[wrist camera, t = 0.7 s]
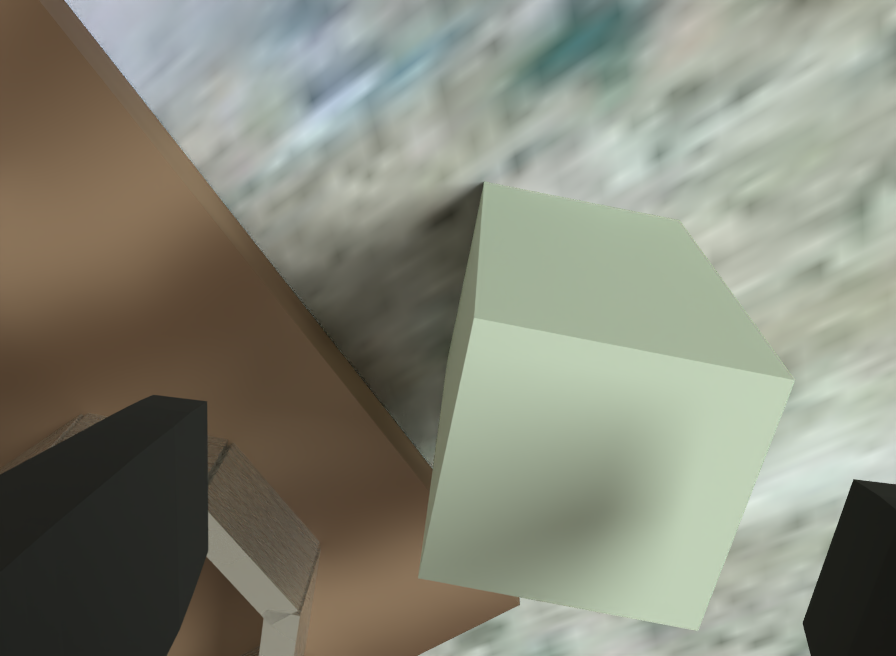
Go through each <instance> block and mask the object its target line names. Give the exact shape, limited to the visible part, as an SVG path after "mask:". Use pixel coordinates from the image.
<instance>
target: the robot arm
mask: <svg viewBox="0 0 896 656" xmlns="http://www.w3.org/2000/svg"><path fill="white" fill-rule="evenodd" d="M207 553H208V425H207V401H201V400H193V399H185V398H176V397H168V396H160V395H151V396H149V397H147V398H145V399H142V400H140V401H138V402H136V403H134V404H132V405H130V406H128V407H126V408H124V409H122V410H120V411H118V412H116V413H114V414H112V415H110V416H109V417H107V418H105V419H103V420H101V421H99V422H97V423H96V424H94V425H92V426H90V427H88V428H86V429H84V430H83V431H81V432H79V433H77V434H75V435H73V436H72V437H70V438H68V439H66V440H64V441H62V442H60V443H58V444H57V445H55V446H53V447H51V448H49V449H47V450H45V451H43V452H42V453H40V454H38V455H36V456H34V457H32V458H30V459H28V460H27V461H25V462H23V463H21V464H19V465H17V466H15V467H13V468H11V469H10V470H8V471H6V472H4V473H2V474H0V656H167V654H168V652H169V650H170V648H171V646H172V644H173V642H174V640H175V638H176V636H177V634H178V632H179V630H180V628H181V625H182V622H183V620H184V617H185V615H186V612H187V609H188V607H189V604H190V601H191V599H192V596H193V593H194V590H195V588H196V585H197V582H198V579H199V576H200V573H201V570H202V568H203V565H204V562H205V559H206V556H207ZM803 626H804V630H805V634H806V638H807V642H808V646H809V650H810V654H811V656H896V484H888V483H879V482H871V481H863V480H855V479H853V482H852V485H851V488H850V491H849V494H848V496H847V499H846V502H845V505H844V508H843V511H842V513H841V516H840V519H839V522H838V525H837V527H836V530H835V533H834V536H833V539H832V542H831V544H830V547H829V550H828V553H827V556H826V559H825V561H824V564H823V567H822V570H821V573H820V575H819V578H818V581H817V584H816V587H815V590H814V592H813V595H812V598H811V601H810V604H809V607H808V609H807V612H806V615H805V618H804V621H803Z"/></svg>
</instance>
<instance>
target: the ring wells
mask: <svg viewBox="0 0 896 656" xmlns="http://www.w3.org/2000/svg"><path fill="white" fill-rule="evenodd" d="M105 418H107V416H102V415H96V414H91V413H87V414H86V415H85V416H83V415H82V414H80V415H79V416H78V417H76V418H75V419H73V420H72V421H70V422H69V423H67V424H66V425H64V426H63V427H61V428H60V429H58V430H57V431H55V432H54V433H52V434H51V435H49V436H48V437H46V438H45V439H43V440H42V441H40V442H39V443H37V444H36V445H34V446H33V447H31V448H30V449H28V450H27V451H25V452H24V453H22V454H21V455H19V456H18V457H16V458H15V459H13V460H12V461H10V462H9V463H7V464H6V465H4V466H3V467H1V468H0V474H2V473H4V472H6V471H8V470H10V469H11V468H13V467H15V466H17V465H19V464H21V463H23V462H25V461H27V460H28V459H30V458H32V457H34V456H36V455H38V454H40V453H42V452H43V451H45V450H47V449H49V448H51V447H53V446H55V445H57V444H58V443H60V442H62V441H64V440H66V439H68V438H70V437H72V436H73V435H75V434H77V433H79V432H81V431H83V430H84V429H86V428H88V427H90V426H92V425H94V424H96V423H97V422H99V421H101V420H103V419H105ZM227 444H228V439H222V438H217V437H212V436H208V553H207V558H208V559H209V560H210V561H211V562H212V563H213V564H214V565H215V566H216V567H217V568H218V569H219V570H220V572H221V573H222V574H223V575H224V576H225V577H226V578H227V579H228V580H229V581H230V582H231V583H232V584H233V585H234V587H235V588H236V589H237V590H238V591H239V592H240V593H241V594H242V595H243V596H244V597H245V598H246V599H247V601H248V602H249V603H250V604H251V605H252V606H253V607H254V608H255V609H256V610H257V611H258V612H259V613H260V615H261V616H262V617H263V618H264V620H263V627H262V635H261V643H260V645H259V646H258V647H256V648H254V649H252V650H250V651H248V652H246V653H244V654H242V655H241V656H303V655H304V651H305V647H306V641H307V634H308V628H309V622H310V615H311V609H312V602H313V596H314V590H315V583H316V577H317V571H318V564H319V558H320V551H321V547H319V541H318V540H317V538H316V537H315V536H314V535H313V534H312V533H311V531H310V530H309V529H308V528H307V527H306V526H305V525H304V523H303V522H302V521H301V520H300V519H299V518H298V516H297V515H296V514H295V513H294V512H293V511H292V510H291V508H290V507H289V506H288V505H287V504H286V503H285V502H284V500H283V499H282V498H281V497H280V496H279V495H278V493H277V492H276V491H275V490H274V489H273V488H272V487H271V485H270V484H269V483H268V482H267V481H266V480H265V478H264V477H263V476H262V475H261V474H260V473H259V472H258V470H257V469H256V468H255V467H254V466H253V465H252V463H251V462H250V461H249V460H248V459H247V458H246V457H245V455H244V454H243V453H242V452H241V451H240V450H239V449H238V447H237V446H236V445H235V444H234V443H232V444H230V445H229V446H227Z"/></svg>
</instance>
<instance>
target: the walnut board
mask: <svg viewBox="0 0 896 656" xmlns="http://www.w3.org/2000/svg"><path fill="white" fill-rule="evenodd" d="M151 395H160V396H168V397H176V398H185V399H193V400H201V401H207V425H208V436H212V437H217V438H222V439H228V444H227V446H229V445H230V444H232V443H234V444H235V445H236V446H237V447H238V449H239V450H240V451H241V452H242V453H243V454H244V455H245V457H246V458H247V459H248V460H249V461H250V462H251V463H252V465H253V466H254V467H255V468H256V469H257V470H258V472H259V473H260V474H261V475H262V476H263V477H264V478H265V480H266V481H267V482H268V483H269V484H270V485H271V487H272V488H273V489H274V490H275V491H276V492H277V493H278V495H279V496H280V497H281V498H282V499H283V500H284V502H285V503H286V504H287V505H288V506H289V507H290V508H291V510H292V511H293V512H294V513H295V514H296V515H297V516H298V518H299V519H300V520H301V521H302V522H303V523H304V525H305V526H306V527H307V528H308V529H309V530H310V531H311V533H312V534H313V535H314V536H315V537H316V538H317V540H318V541H319V547H321V551H320V558H319V564H318V571H317V577H316V583H315V590H314V596H313V602H312V609H311V615H310V622H309V628H308V634H307V641H306V647H305V651H304V655H303V656H417V655H419V654H421V653H423V652H425V651H427V650H429V649H432V648H434V647H436V646H438V645H440V644H442V643H444V642H446V641H448V640H450V639H452V638H454V637H456V636H458V635H460V634H462V633H464V632H466V631H468V630H470V629H472V628H474V627H476V626H478V625H480V624H482V623H484V622H486V621H488V620H490V619H492V618H494V617H496V616H498V615H500V614H502V613H504V612H506V611H508V610H510V609H512V608H514V607H516V606H518V605H520V599H519V597H516V596H510V595H505V594H500V593H494V592H489V591H484V590H478V589H473V588H468V587H462V586H457V585H452V584H446V583H441V582H436V581H431V580H425V579H420V578H418V575H419V568H420V560H421V553H422V545H423V538H424V531H425V523H426V516H427V508H428V501H429V493H430V486H431V479H432V471H433V469H432V468H431V467H430V465H429V464H428V463H427V462H426V460H425V459H424V458H423V456H422V455H421V454H420V453H419V451H418V450H417V449H416V448H415V446H414V445H413V444H412V442H411V441H410V440H409V439H408V437H407V436H406V435H405V434H404V432H403V431H402V430H401V428H400V427H399V426H398V425H397V423H396V422H395V421H394V420H393V418H392V417H391V416H390V414H389V413H388V412H387V411H386V409H385V408H384V407H383V406H382V404H381V403H380V402H379V400H378V399H377V398H376V397H375V395H374V394H373V393H372V392H371V390H370V389H369V388H368V386H367V385H366V384H365V383H364V381H363V380H362V379H361V378H360V376H359V375H358V374H357V372H356V371H355V370H354V369H353V367H352V366H351V365H350V364H349V362H348V361H347V360H346V358H345V357H344V356H343V355H342V353H341V352H340V351H339V350H338V348H337V347H336V346H335V344H334V343H333V342H332V341H331V339H330V338H329V337H328V336H327V334H326V333H325V332H324V330H323V329H322V328H321V327H320V325H319V324H318V323H317V322H316V320H315V319H314V318H313V316H312V315H311V314H310V313H309V311H308V310H307V309H306V308H305V306H304V305H303V304H302V302H301V301H300V300H299V299H298V297H297V296H296V295H295V294H294V292H293V291H292V290H291V288H290V287H289V286H288V285H287V283H286V282H285V281H284V280H283V278H282V277H281V276H280V274H279V273H278V272H277V271H276V269H275V268H274V267H273V266H272V264H271V263H270V262H269V260H268V259H267V258H266V257H265V255H264V254H263V253H262V252H261V250H260V249H259V248H258V246H257V245H256V244H255V243H254V241H253V240H252V239H251V238H250V236H249V235H248V234H247V232H246V231H245V230H244V229H243V227H242V226H241V225H240V224H239V222H238V221H237V220H236V218H235V217H234V216H233V215H232V213H231V212H230V211H229V209H228V208H227V207H226V206H225V204H224V203H223V202H222V201H221V199H220V198H219V197H218V195H217V194H216V193H215V192H214V190H213V189H212V188H211V187H210V185H209V184H208V183H207V181H206V180H205V179H204V178H203V176H202V175H201V174H200V173H199V171H198V170H197V169H196V167H195V166H194V165H193V164H192V162H191V161H190V160H189V159H188V157H187V156H186V155H185V153H184V152H183V151H182V150H181V148H180V147H179V146H178V145H177V143H176V142H175V141H174V139H173V138H172V137H171V136H170V134H169V133H168V132H167V131H166V129H165V128H164V127H163V125H162V124H161V123H160V122H159V120H158V119H157V118H156V117H155V115H154V114H153V113H152V111H151V110H150V109H149V108H148V106H147V105H146V104H145V103H144V101H143V100H142V99H141V97H140V96H139V95H138V94H137V92H136V91H135V90H134V89H133V87H132V86H131V85H130V83H129V82H128V81H127V80H126V78H125V77H124V76H123V75H122V73H121V72H120V71H119V69H118V68H117V67H116V66H115V64H114V63H113V62H112V61H111V59H110V58H109V57H108V55H107V54H106V53H105V52H104V50H103V49H102V48H101V47H100V45H99V44H98V43H97V41H96V40H95V39H94V38H93V36H92V35H91V34H90V33H89V31H88V30H87V29H86V27H85V26H84V25H83V24H82V22H81V21H80V20H79V19H78V17H77V16H76V15H75V13H74V12H73V11H72V10H71V8H70V7H69V6H68V5H67V3H66V2H65V1H64V0H0V468H1V467H3V466H4V465H6V464H7V463H9V462H10V461H12V460H13V459H15V458H16V457H18V456H19V455H21V454H22V453H24V452H25V451H27V450H28V449H30V448H31V447H33V446H34V445H36V444H37V443H39V442H40V441H42V440H43V439H45V438H46V437H48V436H49V435H51V434H52V433H54V432H55V431H57V430H58V429H60V428H61V427H63V426H64V425H66V424H67V423H69V422H70V421H72V420H73V419H75V418H76V417H78V416H79V415H80V414H82V415H83V416H85V415H86V414H87V413H91V414H96V415H102V416H107V417H109V416H110V415H112V414H114V413H116V412H118V411H120V410H122V409H124V408H126V407H128V406H130V405H132V404H134V403H136V402H138V401H140V400H142V399H145V398H147V397H149V396H151ZM263 620H264V618H263V617H262V616H261V615H260V613H259V612H258V611H257V610H256V609H255V608H254V607H253V606H252V605H251V604H250V603H249V602H248V601H247V599H246V598H245V597H244V596H243V595H242V594H241V593H240V592H239V591H238V590H237V589H236V588H235V587H234V585H233V584H232V583H231V582H230V581H229V580H228V579H227V578H226V577H225V576H224V575H223V574H222V573H221V572H220V570H219V569H218V568H217V567H216V566H215V565H214V564H213V563H212V562H211V561H210V560H209V559H208V558H207V556H206V559H205V562H204V565H203V568H202V570H201V573H200V576H199V579H198V582H197V585H196V588H195V590H194V593H193V596H192V599H191V601H190V604H189V607H188V609H187V612H186V615H185V617H184V620H183V622H182V625H181V628H180V630H179V632H178V634H177V636H176V638H175V640H174V642H173V644H172V646H171V648H170V650H169V652H168V654H167V656H241V655H242V654H244V653H246V652H248V651H250V650H252V649H254V648H256V647H258V646H259V645H260V643H261V635H262V627H263Z"/></svg>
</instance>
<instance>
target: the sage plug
mask: <svg viewBox="0 0 896 656" xmlns="http://www.w3.org/2000/svg"><path fill="white" fill-rule="evenodd" d="M794 382H795V379H794V378H793V377H792V375H791V374H790V372H789V371H788V370H787V368H786V367H785V365H784V364H783V363H782V361H781V360H780V359H779V357H778V356H777V354H776V353H775V352H774V350H773V349H772V347H771V346H770V345H769V343H768V342H767V341H766V339H765V338H764V336H763V335H762V334H761V332H760V331H759V329H758V328H757V327H756V325H755V324H754V323H753V321H752V320H751V318H750V317H749V316H748V314H747V313H746V312H745V310H744V309H743V307H742V306H741V305H740V303H739V302H738V300H737V299H736V298H735V296H734V295H733V294H732V292H731V291H730V289H729V288H728V287H727V285H726V284H725V282H724V281H723V280H722V278H721V277H720V276H719V274H718V273H717V271H716V270H715V269H714V267H713V266H712V264H711V263H710V262H709V260H708V259H707V258H706V256H705V255H704V253H703V252H702V251H701V249H700V248H699V246H698V245H697V244H696V242H695V241H694V240H693V238H692V237H691V235H690V234H689V233H688V231H687V230H686V229H685V227H684V226H683V224H682V223H681V222H680V220H675V219H670V218H665V217H660V216H655V215H650V214H645V213H640V212H635V211H630V210H625V209H619V208H614V207H609V206H604V205H599V204H594V203H589V202H584V201H579V200H574V199H569V198H564V197H559V196H554V195H549V194H544V193H539V192H534V191H529V190H523V189H518V188H513V187H508V186H503V185H498V184H493V183H488V182H484V185H483V190H482V195H481V200H480V205H479V209H478V214H477V219H476V224H475V229H474V234H473V238H472V243H471V248H470V253H469V258H468V263H467V268H466V272H465V277H464V282H463V287H462V292H461V297H460V301H459V306H458V311H457V316H456V321H455V326H454V331H453V335H452V340H451V345H450V350H449V355H448V360H447V367H446V375H445V382H444V389H443V397H442V404H441V412H440V419H439V427H438V434H437V441H436V449H435V456H434V464H433V471H432V479H431V486H430V493H429V501H428V508H427V516H426V523H425V531H424V538H423V545H422V553H421V560H420V568H419V575H418V578H420V579H425V580H431V581H436V582H441V583H446V584H452V585H457V586H462V587H468V588H473V589H478V590H484V591H489V592H494V593H500V594H505V595H510V596H516V597H521V598H526V599H531V600H537V601H542V602H547V603H553V604H558V605H563V606H569V607H574V608H579V609H585V610H590V611H595V612H601V613H606V614H611V615H616V616H622V617H627V618H632V619H638V620H643V621H648V622H654V623H659V624H664V625H670V626H675V627H680V628H686V629H691V630H696V631H698V629H699V627H700V624H701V622H702V619H703V616H704V614H705V611H706V609H707V606H708V604H709V601H710V598H711V596H712V593H713V591H714V588H715V586H716V583H717V580H718V578H719V575H720V573H721V570H722V568H723V565H724V562H725V560H726V557H727V555H728V552H729V550H730V547H731V544H732V542H733V539H734V537H735V534H736V532H737V529H738V526H739V524H740V521H741V519H742V516H743V513H744V511H745V508H746V506H747V503H748V501H749V498H750V495H751V493H752V490H753V488H754V485H755V483H756V480H757V477H758V475H759V472H760V470H761V467H762V465H763V462H764V459H765V457H766V454H767V452H768V449H769V447H770V444H771V441H772V439H773V436H774V434H775V431H776V429H777V426H778V423H779V421H780V418H781V416H782V413H783V410H784V408H785V405H786V403H787V400H788V398H789V395H790V392H791V390H792V387H793V385H794Z"/></svg>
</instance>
